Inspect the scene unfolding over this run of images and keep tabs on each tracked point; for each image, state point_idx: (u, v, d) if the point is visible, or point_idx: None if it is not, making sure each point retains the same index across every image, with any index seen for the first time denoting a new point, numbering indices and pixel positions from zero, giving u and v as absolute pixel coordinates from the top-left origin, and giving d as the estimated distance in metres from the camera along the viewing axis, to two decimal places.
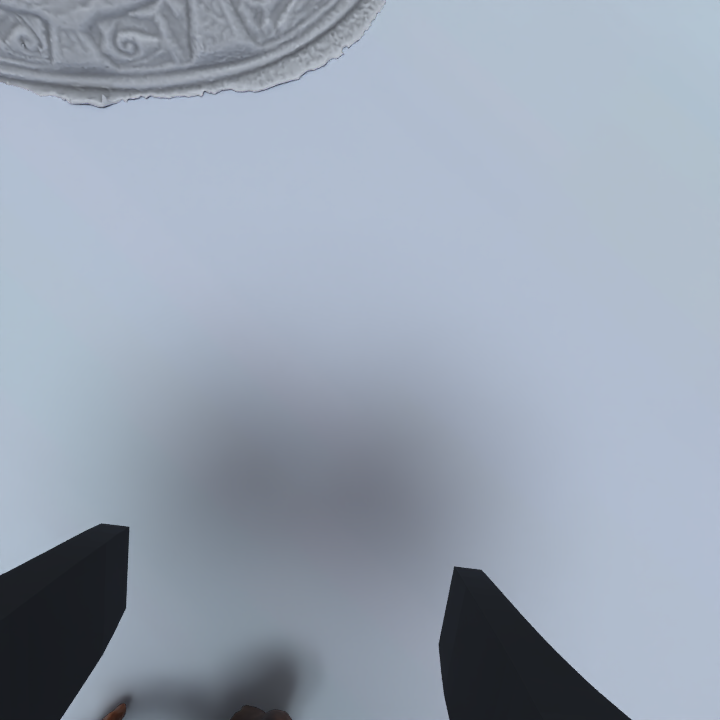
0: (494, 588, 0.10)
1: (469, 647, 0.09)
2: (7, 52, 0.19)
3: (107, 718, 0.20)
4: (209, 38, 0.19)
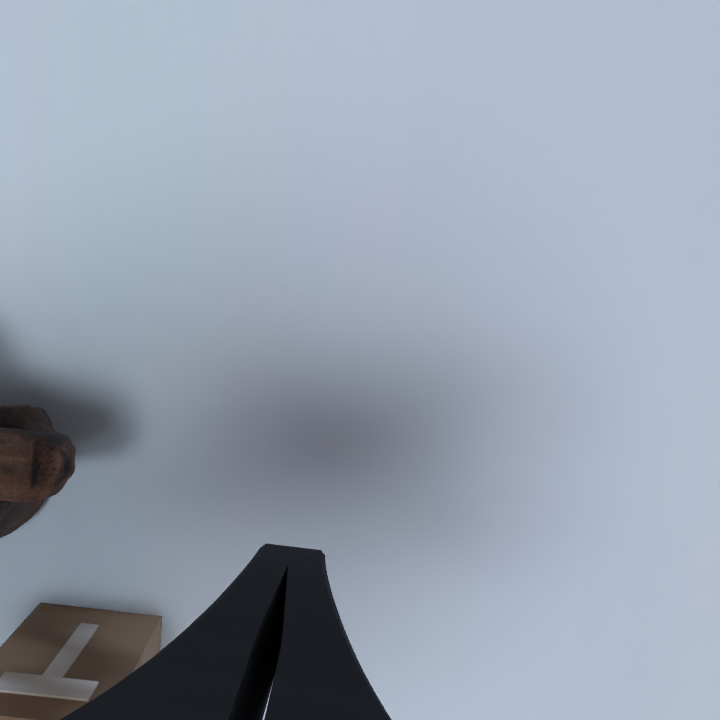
0: (317, 567, 0.10)
1: (281, 625, 0.09)
2: None
3: None
4: None
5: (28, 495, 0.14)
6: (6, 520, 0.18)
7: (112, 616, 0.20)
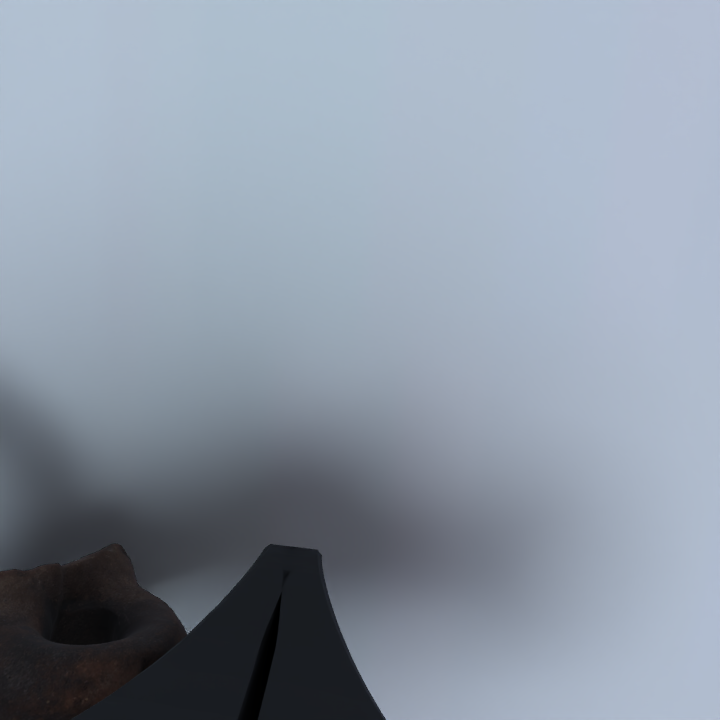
0: (314, 567, 0.10)
1: None
2: None
3: None
4: None
5: None
6: None
7: None
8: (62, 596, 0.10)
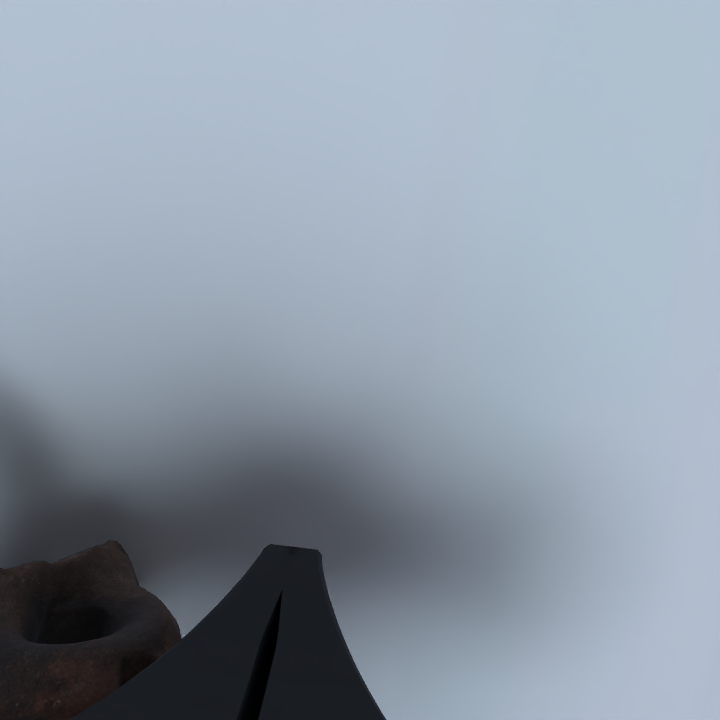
0: (314, 566, 0.10)
1: None
2: None
3: None
4: None
5: None
6: None
7: None
8: (50, 595, 0.09)
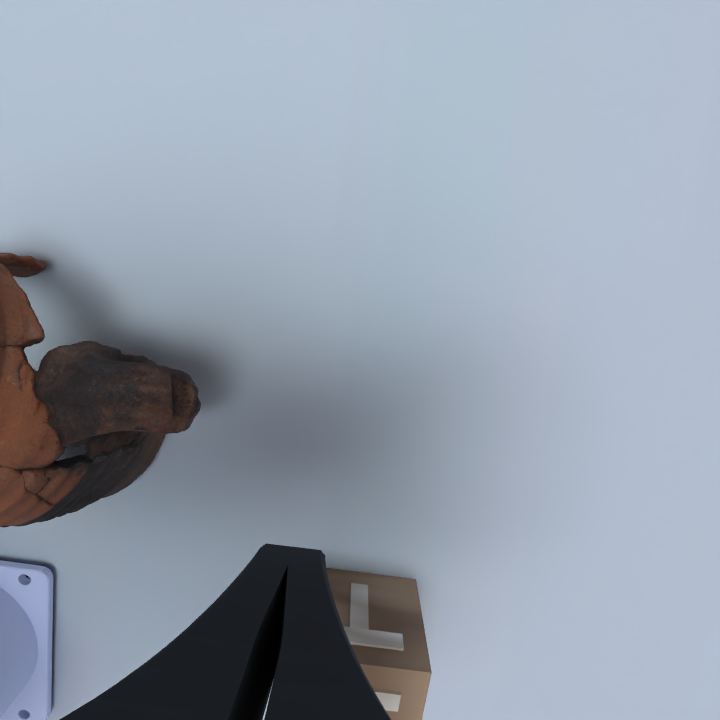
0: (317, 567, 0.10)
1: (281, 625, 0.09)
2: None
3: (24, 257, 0.17)
4: None
5: (170, 425, 0.15)
6: (128, 469, 0.19)
7: (373, 578, 0.21)
8: None
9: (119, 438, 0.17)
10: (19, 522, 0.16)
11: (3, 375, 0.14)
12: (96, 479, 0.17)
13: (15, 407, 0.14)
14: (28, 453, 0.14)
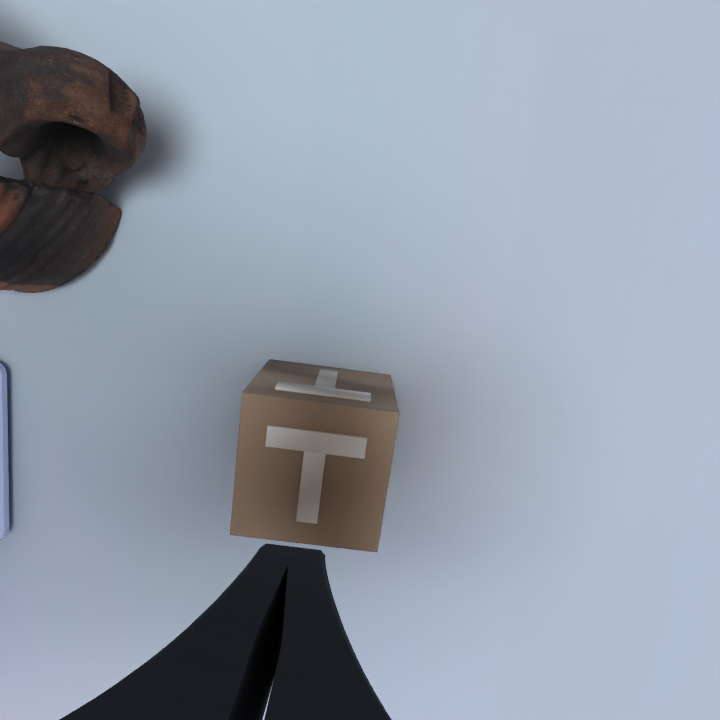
0: (317, 567, 0.10)
1: (281, 625, 0.09)
2: None
3: None
4: None
5: (108, 122, 0.14)
6: (78, 237, 0.18)
7: (344, 371, 0.20)
8: None
9: (62, 174, 0.16)
10: None
11: None
12: (38, 223, 0.16)
13: None
14: None
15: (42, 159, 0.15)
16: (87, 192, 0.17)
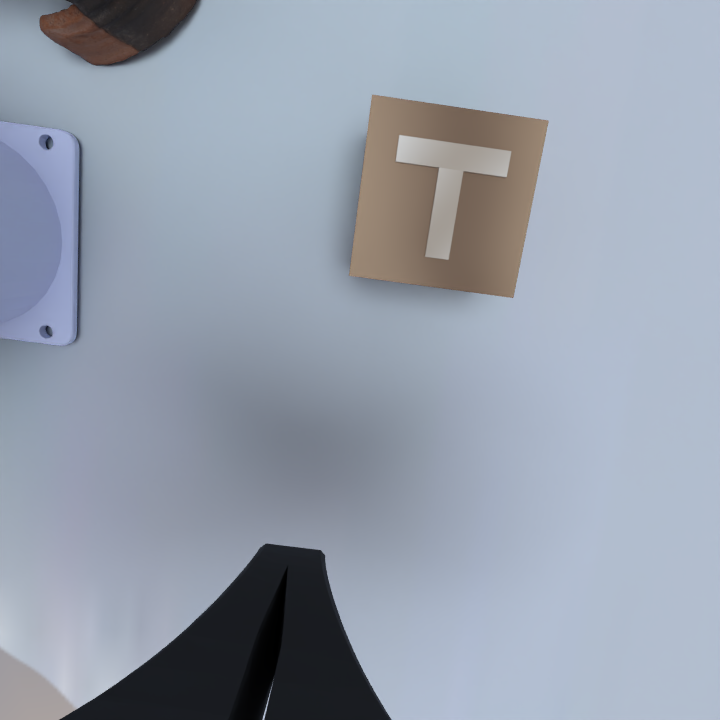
0: (317, 567, 0.10)
1: (281, 625, 0.09)
2: None
3: None
4: None
5: None
6: None
7: None
8: None
9: None
10: None
11: None
12: None
13: None
14: None
15: None
16: None
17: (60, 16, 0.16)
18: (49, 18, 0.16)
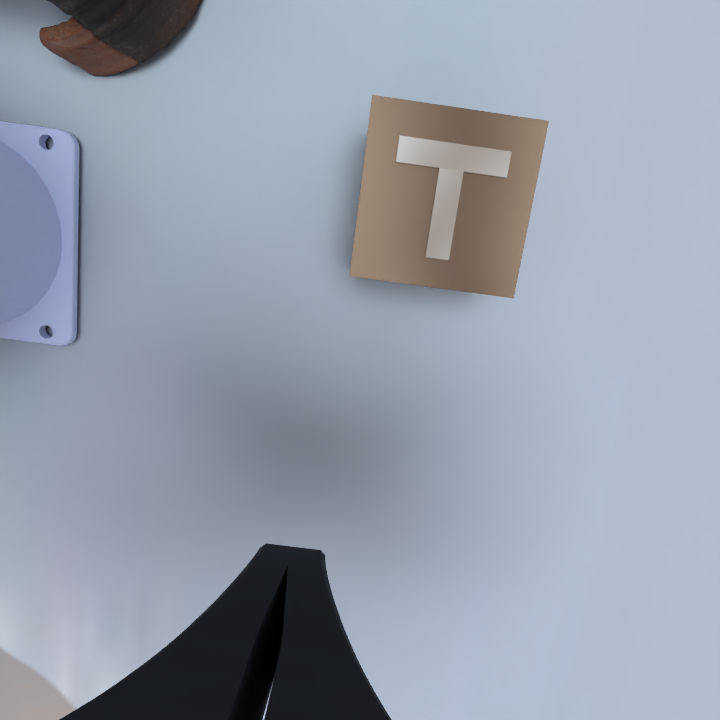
0: (317, 567, 0.10)
1: (281, 625, 0.09)
2: None
3: None
4: None
5: None
6: None
7: None
8: None
9: None
10: None
11: None
12: None
13: None
14: None
15: None
16: None
17: (60, 28, 0.16)
18: (49, 30, 0.16)
